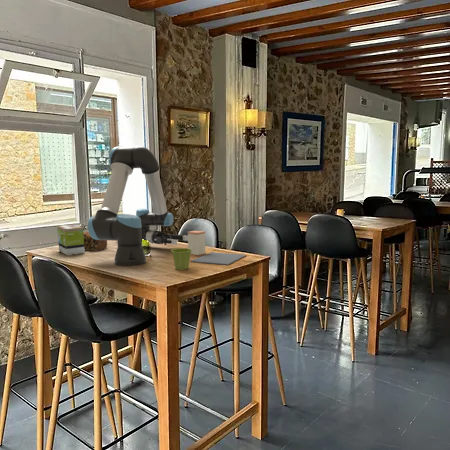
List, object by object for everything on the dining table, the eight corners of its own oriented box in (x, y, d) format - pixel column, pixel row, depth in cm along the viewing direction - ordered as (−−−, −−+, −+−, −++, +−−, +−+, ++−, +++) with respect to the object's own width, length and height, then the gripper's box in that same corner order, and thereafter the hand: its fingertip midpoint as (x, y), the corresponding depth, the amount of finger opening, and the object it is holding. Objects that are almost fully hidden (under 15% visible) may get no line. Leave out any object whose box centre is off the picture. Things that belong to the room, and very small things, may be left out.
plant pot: (172, 266, 201) (171, 248, 200) (192, 266, 202) (191, 247, 201) (171, 271, 192) (170, 252, 191) (192, 270, 192) (191, 251, 191)
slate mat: (228, 265, 203) (228, 264, 203) (190, 261, 211) (190, 260, 211) (246, 255, 224) (246, 254, 224) (211, 253, 232) (211, 252, 232)
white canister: (198, 255, 227) (198, 232, 226) (188, 253, 231) (187, 231, 230) (205, 253, 232) (205, 231, 231) (195, 252, 236) (194, 230, 234)
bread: (70, 249, 247) (69, 232, 246) (83, 246, 257) (82, 229, 256) (96, 251, 240) (95, 234, 239) (108, 248, 250) (107, 231, 249)
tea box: (58, 251, 240) (56, 225, 238) (76, 249, 246) (74, 224, 244) (66, 255, 228) (64, 228, 226) (85, 253, 234) (83, 226, 232)
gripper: (170, 240, 258) (198, 244, 247) (140, 246, 238) (169, 250, 226) (169, 228, 257) (198, 231, 246) (140, 233, 237) (169, 236, 225)
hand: (184, 240), depth 236 cm, fingers open, 13 cm apart
